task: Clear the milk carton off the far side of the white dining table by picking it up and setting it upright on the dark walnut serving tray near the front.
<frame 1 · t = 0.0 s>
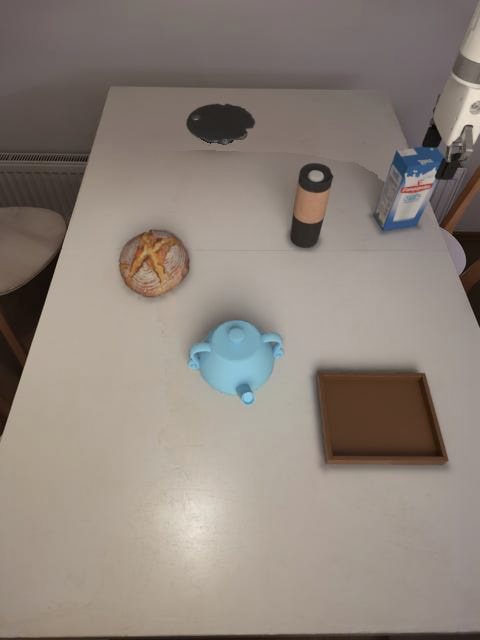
hand: (436, 162, 81), 30 cm above the table, tool pointing down, fingers open, 9 cm apart
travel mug: (304, 238, 112), on the table
tray: (376, 419, 84), on the table
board: (220, 135, 137), on the table
teapot: (237, 376, 89), on the table
bread: (156, 269, 105), on the table
milk carton: (394, 221, 116), on the table
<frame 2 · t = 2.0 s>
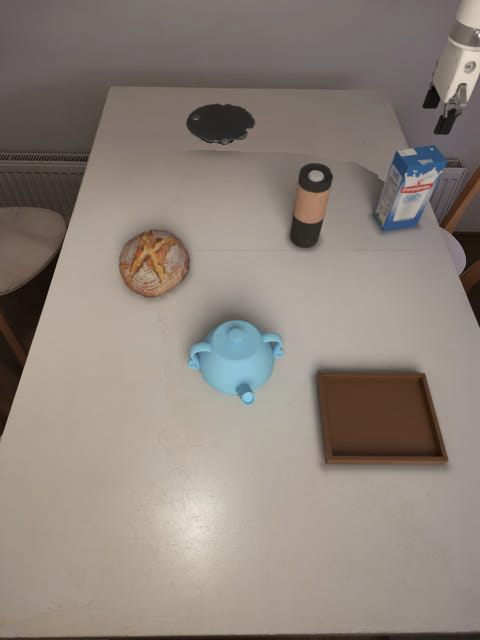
hand: (434, 120, 92), 28 cm above the table, tool pointing down, fingers open, 9 cm apart
nothing on the table moved.
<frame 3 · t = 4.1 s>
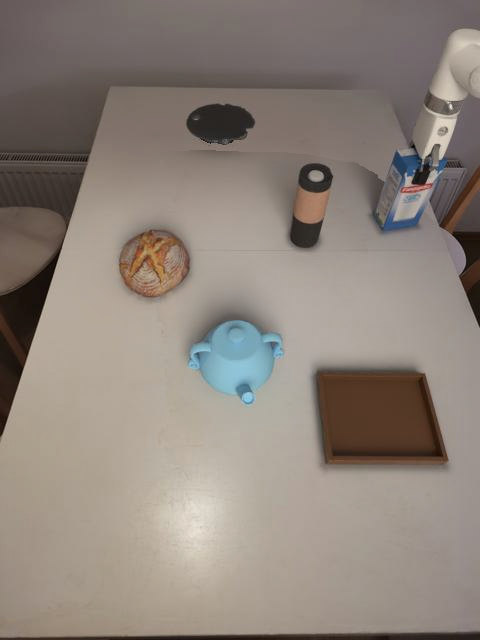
hand: (414, 172, 103), 15 cm above the table, tool pointing down, fingers closed on milk carton, 7 cm apart
milk carton: (394, 221, 116), on the table, touching gripper
everything else where it was.
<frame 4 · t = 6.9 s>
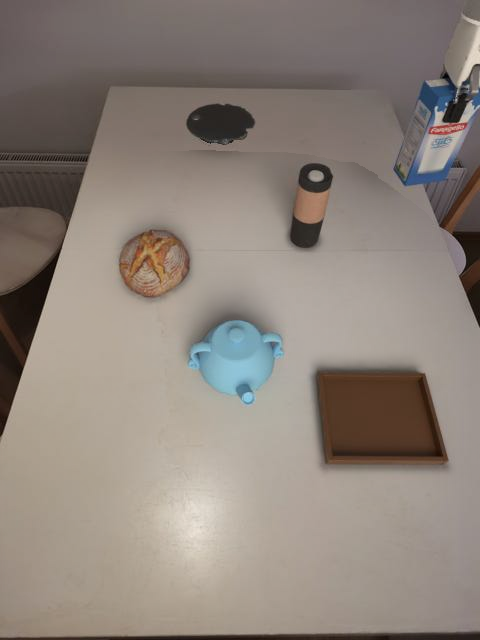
hand: (445, 110, 86), 33 cm above the table, tool pointing down, fingers closed on milk carton, 7 cm apart
milk carton: (418, 175, 98), point 18 cm above the table, touching gripper
everything else where it was.
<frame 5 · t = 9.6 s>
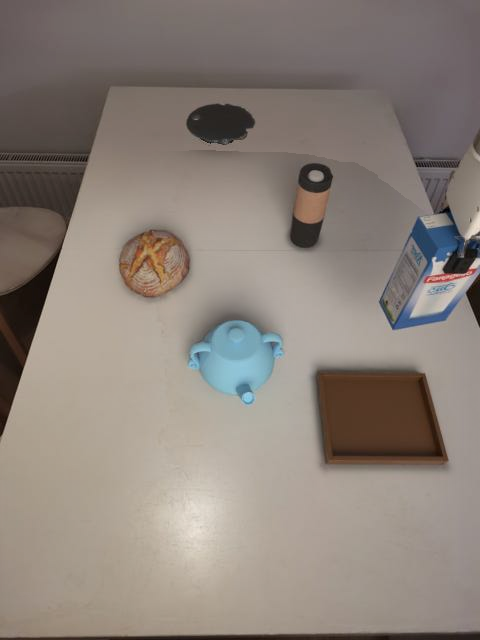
hand: (447, 251, 63), 34 cm above the table, tool pointing down, fingers closed on milk carton, 7 cm apart
milk carton: (411, 311, 76), point 18 cm above the table, touching gripper
everything else where it was.
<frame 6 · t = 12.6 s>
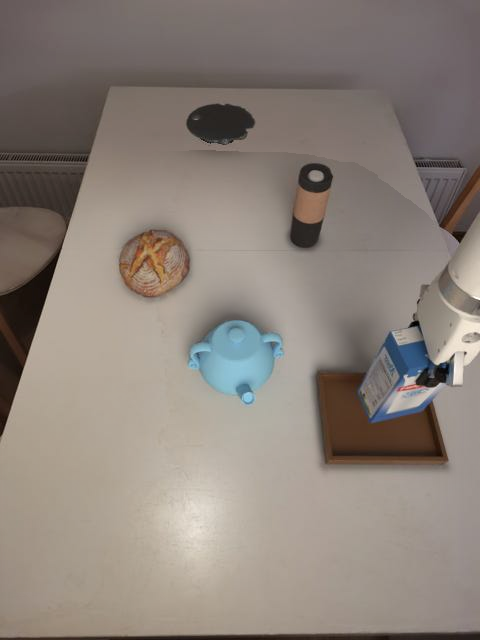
hand: (419, 359, 64), 24 cm above the table, tool pointing down, fingers closed on milk carton, 7 cm apart
milk carton: (388, 401, 77), point 8 cm above the table, touching gripper
everything else where it was.
when the fingers open (16 cm above the table, at t = 15.0 s): milk carton stays where it is, resting on tray.
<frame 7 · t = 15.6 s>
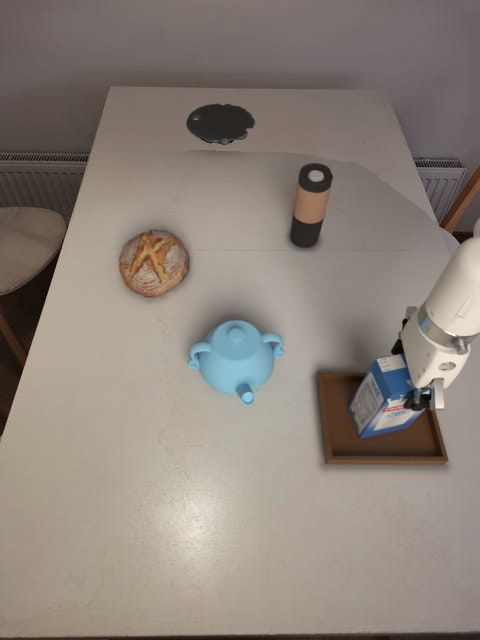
hand: (406, 379, 70), 17 cm above the table, tool pointing down, fingers open, 9 cm apart
milk carton: (376, 418, 84), resting on tray
everything else where it was.
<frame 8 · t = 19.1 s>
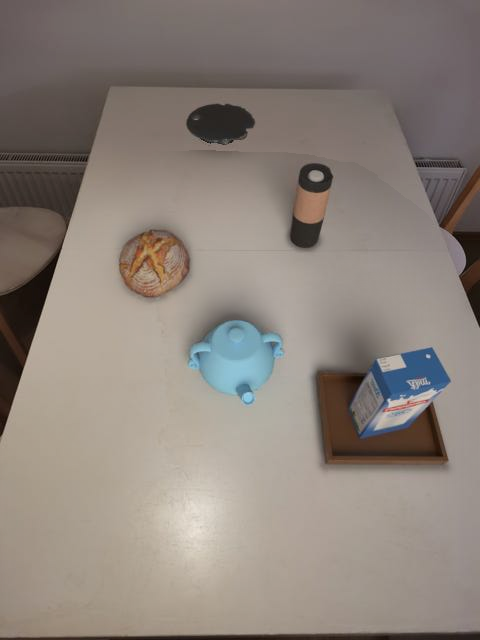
nothing on the table moved.
at the end: milk carton inside the target area in the tray (0.0 cm from its centre), point 0.4 cm above the tray's base; milk carton tilted 0°; the gripper is holding nothing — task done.
